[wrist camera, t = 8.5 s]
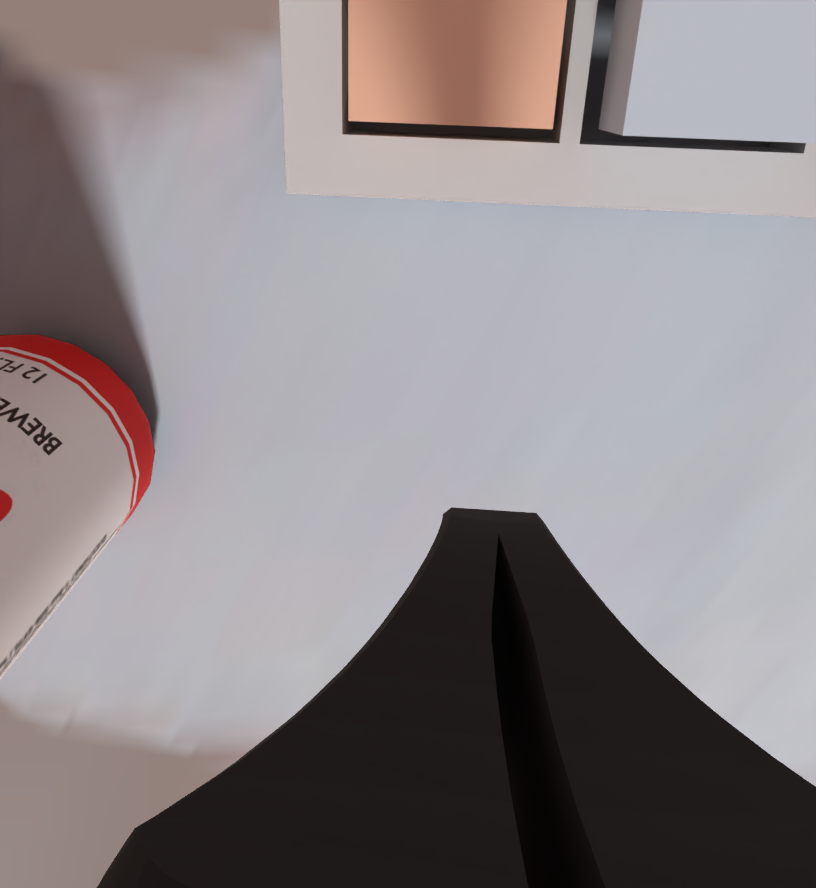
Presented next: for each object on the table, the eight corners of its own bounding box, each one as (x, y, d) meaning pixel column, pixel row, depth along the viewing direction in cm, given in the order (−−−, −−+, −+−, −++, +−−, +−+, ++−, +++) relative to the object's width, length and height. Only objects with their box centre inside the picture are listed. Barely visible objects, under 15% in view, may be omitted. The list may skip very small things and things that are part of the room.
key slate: (856, -105, 12) (939, -146, 10) (796, 137, 14) (856, 145, 12) (631, -110, 13) (665, -152, 10) (598, 129, 14) (622, 135, 12)
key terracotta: (563, -93, 14) (581, -128, 12) (540, 124, 16) (553, 129, 13) (366, -98, 14) (348, -133, 12) (364, 117, 16) (348, 121, 14)
